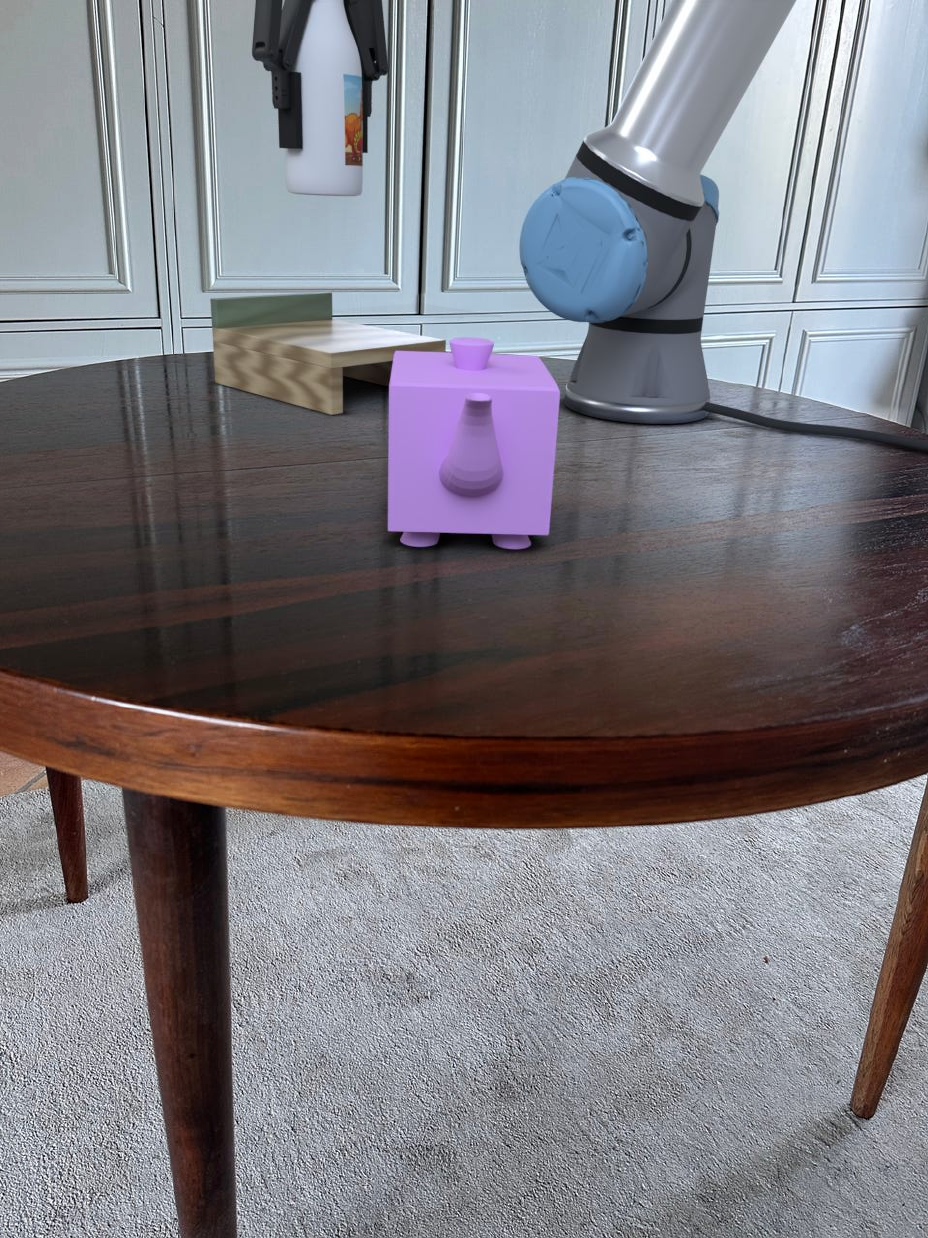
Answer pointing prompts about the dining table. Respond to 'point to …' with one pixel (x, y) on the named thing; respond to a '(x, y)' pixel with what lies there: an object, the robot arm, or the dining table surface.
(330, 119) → the milk bottle
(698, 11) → the robot arm
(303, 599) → the dining table surface
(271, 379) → the shelf
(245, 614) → the dining table surface
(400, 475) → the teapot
